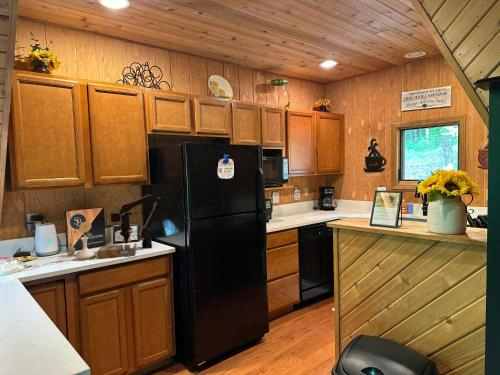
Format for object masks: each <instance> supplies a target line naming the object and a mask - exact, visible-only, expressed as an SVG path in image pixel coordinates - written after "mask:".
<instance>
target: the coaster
mask: <svg viewBox="0 0 500 375" xmlns="http://www.w3.org/2000/svg"><path fill="white" fill-rule="evenodd" d="M121 242H122V243H125V241H124V237H123V238H121ZM129 242H132V238H131V237H129V239H128V242H127V243H129Z"/></svg>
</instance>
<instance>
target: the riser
mask: <svg viewBox="0 0 500 375" xmlns="http://www.w3.org/2000/svg"><path fill="white" fill-rule="evenodd" d="M127 249H131V245H130V244H123V250H127Z"/></svg>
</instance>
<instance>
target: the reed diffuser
mask: <svg viewBox="0 0 500 375" xmlns="http://www.w3.org/2000/svg"><path fill="white" fill-rule="evenodd" d="M62 229H63V232H64V234H65V237H66V240H67V242H68V247H67V250H66V253H67V255H68V256H69V255H71V256H72V255H75V254H76V255H77V254H78V253H79V252H80V251H77V252H76V248H75V247H73V240H74V237H75V233H76V231H74V233H73V231H71V232H70V231H67V233H68V235H70V233H71V236H70V237H68V236H67V234H66V232H65V228H62ZM67 229H69V227H68V226H67ZM76 229H77V227H75V228H74V230H76ZM69 232H70V233H69ZM70 238H71V239H70ZM70 241H71V243H70Z"/></svg>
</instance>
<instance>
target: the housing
mask: <svg viewBox="0 0 500 375" xmlns="http://www.w3.org/2000/svg"><path fill="white" fill-rule="evenodd" d="M121 250H124V244H115V245H102V246H101V247H100V248H99V249H98V250H97V259H98V260H102V259H113V258H114V259H115V258H122V256H121Z"/></svg>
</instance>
